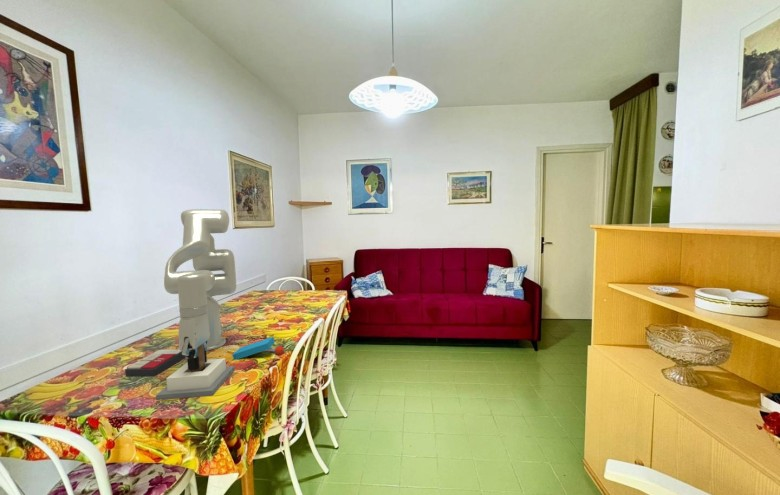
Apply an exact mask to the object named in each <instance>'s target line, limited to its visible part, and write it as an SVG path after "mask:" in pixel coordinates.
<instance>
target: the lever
mask: <svg viewBox="0 0 780 495" xmlns="http://www.w3.org/2000/svg"><path fill="white" fill-rule="evenodd" d="M275 342H276V341H275V339H274V336H272V337H268V338H265V339H262V340H259V341H256V342H252V343H250V344H247V345H244V346H240V347H238V349H237V350H236V351H234V352H233V354H231V356H232V358H233V360H235V361H237V360H240V359H243V358H246V357H248V356H252V355H255V354H259V353H260V352H265V351H266V352H274V353H275V354H276V355H282V354H284V351H285V350H284V349H285V348H284V346H281V345H278V346H276V347H275V348H274V347H273V345H274V344H275Z"/></svg>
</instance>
